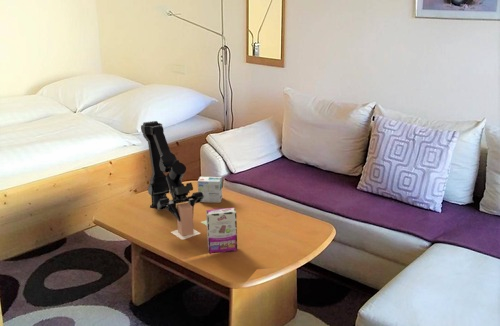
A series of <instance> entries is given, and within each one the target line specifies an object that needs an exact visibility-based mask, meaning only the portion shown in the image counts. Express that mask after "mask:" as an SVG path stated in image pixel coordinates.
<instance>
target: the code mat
mask: <svg viewBox="0 0 500 326" xmlns="http://www.w3.org/2000/svg"><path fill="white" fill-rule="evenodd" d="M200 223H201V224H203V225H205V226H206V227H207V219H205V220H203V221H200ZM193 230H194V234H191V235H186V236H181V235H180V233H179V232H178V229H175V230H173V231H170V233H171V234H173V235H174V236H176V237H177V238H179V239H180V240H182V241H183V240H186V239H190V238H191V237H192V238H193V237H195V236H197V235H201V234H202V233H201V232H199V231H197V230H196V229H194V228H193Z"/></svg>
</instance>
